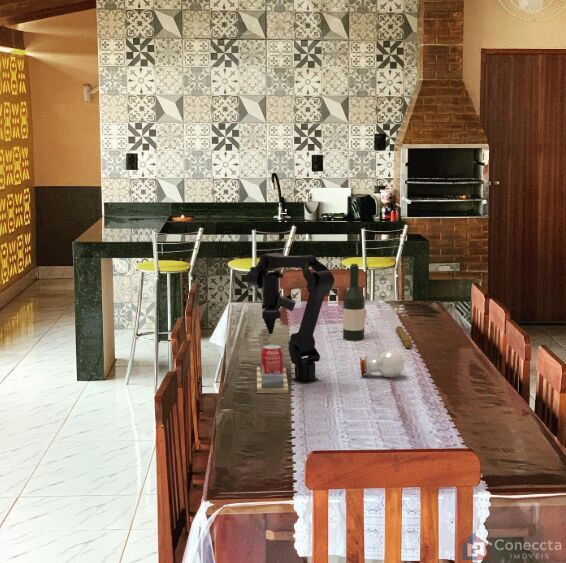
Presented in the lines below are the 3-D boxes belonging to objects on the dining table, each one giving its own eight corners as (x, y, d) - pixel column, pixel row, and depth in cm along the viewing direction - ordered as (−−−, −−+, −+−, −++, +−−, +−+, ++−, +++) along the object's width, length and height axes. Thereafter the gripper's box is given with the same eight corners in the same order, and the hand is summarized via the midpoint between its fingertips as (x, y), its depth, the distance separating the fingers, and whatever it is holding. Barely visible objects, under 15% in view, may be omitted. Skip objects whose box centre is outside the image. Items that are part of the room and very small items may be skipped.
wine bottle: (364, 341, 390) (365, 265, 385) (343, 341, 390) (344, 265, 385) (363, 336, 398) (364, 262, 393) (342, 336, 398) (343, 262, 393)
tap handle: (402, 325, 406) (412, 342, 376) (402, 332, 406) (412, 350, 376) (395, 325, 405) (404, 342, 376) (395, 332, 406) (404, 350, 376)
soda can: (270, 378, 331) (270, 343, 329) (287, 381, 327) (287, 346, 325) (257, 382, 325) (256, 347, 323) (274, 386, 321) (273, 350, 319)
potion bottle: (406, 382, 336) (362, 386, 338) (404, 360, 343) (361, 364, 345) (405, 364, 330) (360, 369, 332) (402, 342, 337) (358, 347, 338)
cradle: (288, 393, 318) (288, 376, 317) (257, 393, 318) (256, 377, 317) (285, 370, 346) (285, 355, 345) (256, 370, 346) (256, 355, 345)
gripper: (295, 294, 333) (295, 339, 336) (293, 284, 351) (293, 327, 354) (262, 294, 333) (262, 340, 335) (261, 284, 351) (261, 327, 354)
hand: (271, 333), depth 345 cm, fingers closed
